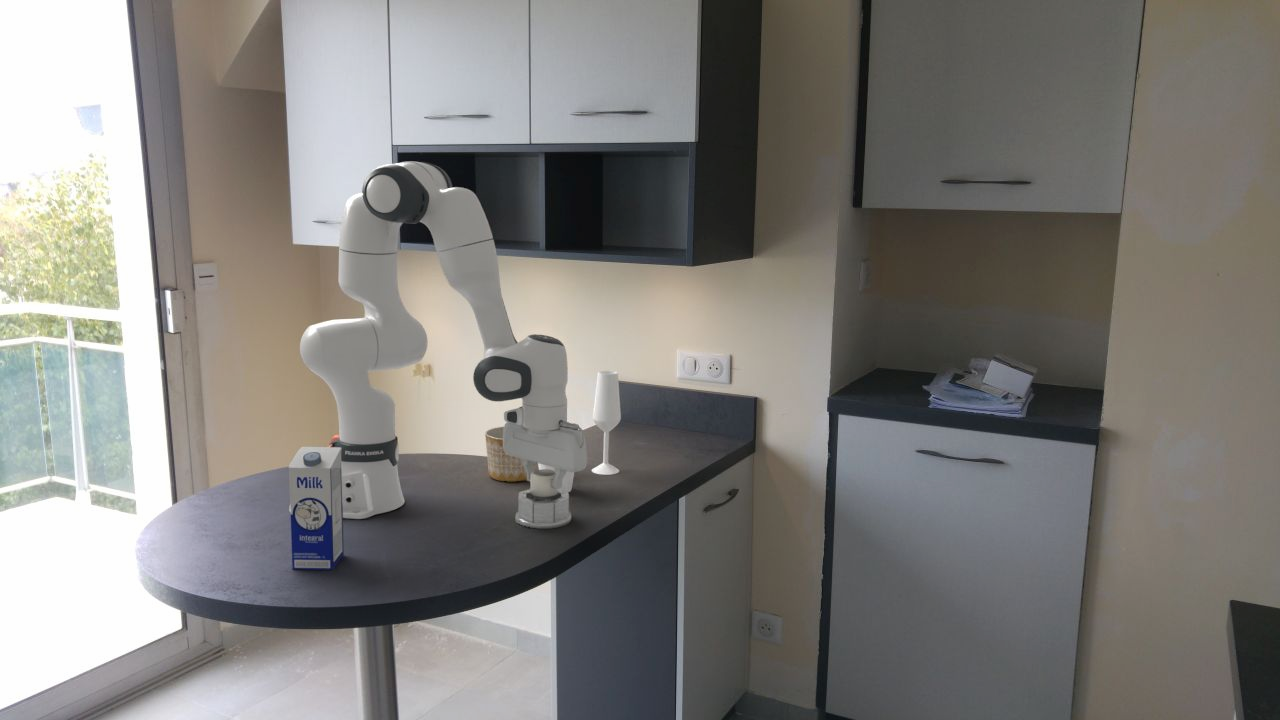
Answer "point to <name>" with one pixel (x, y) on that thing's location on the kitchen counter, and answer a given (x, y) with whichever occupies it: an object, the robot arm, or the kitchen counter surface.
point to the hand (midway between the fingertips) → (544, 484)
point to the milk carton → (316, 508)
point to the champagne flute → (606, 413)
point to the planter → (503, 459)
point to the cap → (542, 483)
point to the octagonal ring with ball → (543, 510)
